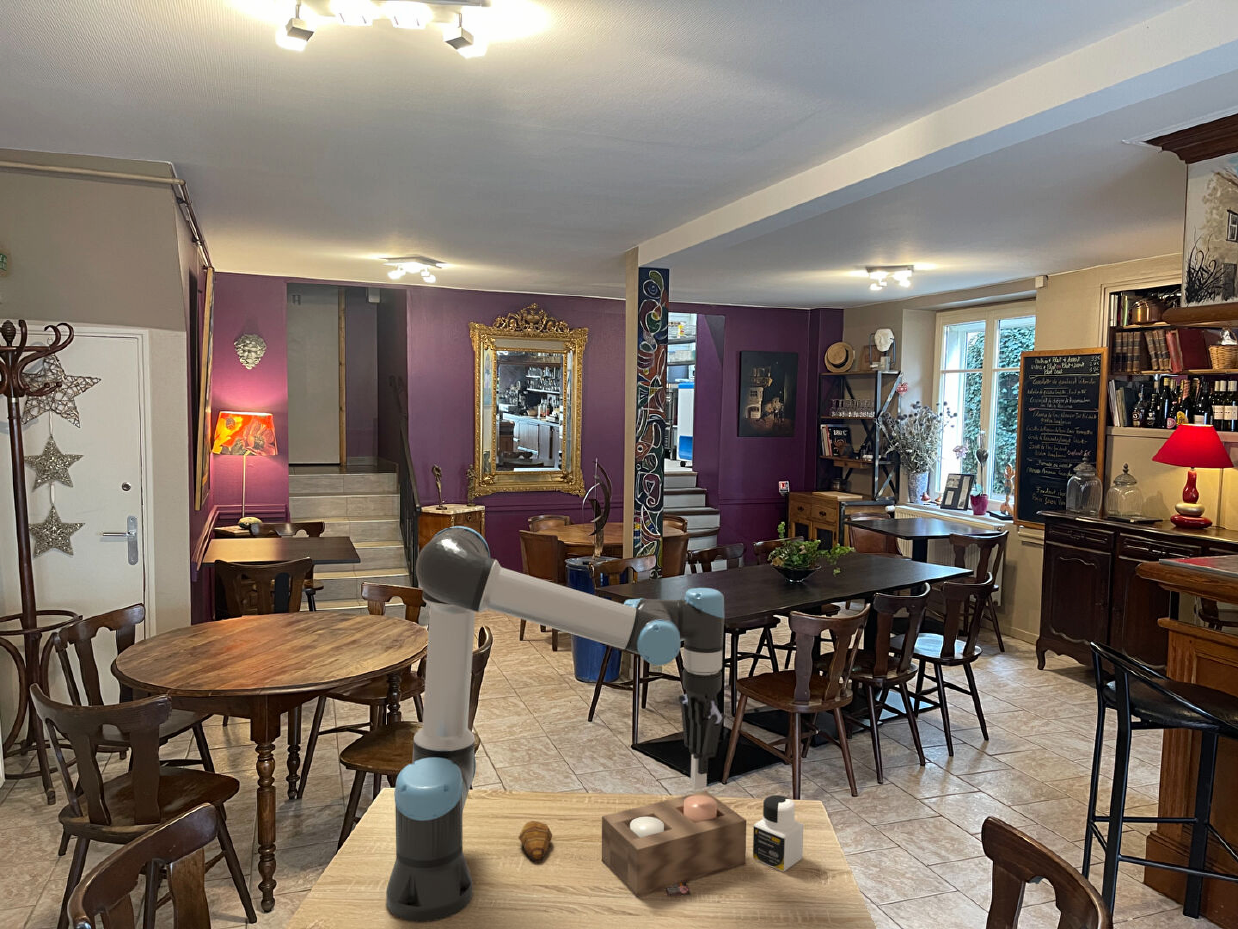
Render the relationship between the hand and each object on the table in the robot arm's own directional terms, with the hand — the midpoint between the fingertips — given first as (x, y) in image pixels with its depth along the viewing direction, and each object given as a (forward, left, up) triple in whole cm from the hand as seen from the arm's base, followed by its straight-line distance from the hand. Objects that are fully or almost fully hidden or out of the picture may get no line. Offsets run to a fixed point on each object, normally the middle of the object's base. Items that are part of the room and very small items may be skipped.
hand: (698, 787), depth 171 cm
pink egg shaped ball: (0, 0, -11) cm, 11 cm away
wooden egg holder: (-6, 0, -14) cm, 15 cm away
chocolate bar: (-9, -6, -15) cm, 18 cm away
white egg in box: (-12, 0, -13) cm, 17 cm away
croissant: (-27, +18, -14) cm, 35 cm away
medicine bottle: (+13, -8, -14) cm, 21 cm away
